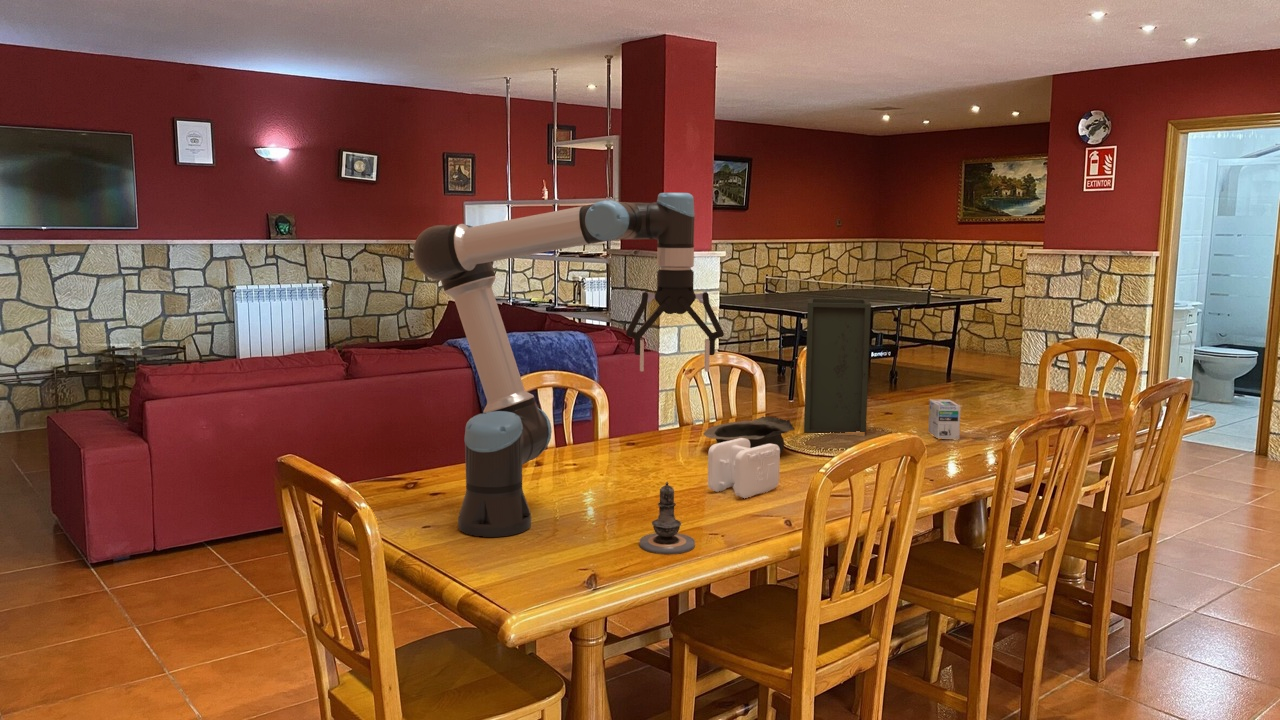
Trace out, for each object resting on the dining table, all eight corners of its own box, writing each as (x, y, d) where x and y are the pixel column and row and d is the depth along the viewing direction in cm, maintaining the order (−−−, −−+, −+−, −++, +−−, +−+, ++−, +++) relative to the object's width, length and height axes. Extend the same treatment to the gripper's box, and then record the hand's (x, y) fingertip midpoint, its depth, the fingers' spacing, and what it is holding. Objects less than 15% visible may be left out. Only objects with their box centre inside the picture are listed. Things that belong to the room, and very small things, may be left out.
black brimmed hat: (811, 454, 269) (811, 421, 267) (742, 473, 255) (741, 439, 254) (753, 436, 289) (752, 406, 287) (686, 453, 276) (684, 422, 274)
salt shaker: (647, 543, 191) (648, 483, 189) (656, 534, 196) (657, 476, 195) (676, 546, 189) (677, 486, 187) (684, 537, 195) (685, 479, 193)
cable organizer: (746, 481, 241) (747, 435, 239) (781, 490, 233) (782, 442, 232) (706, 493, 230) (707, 445, 229) (741, 502, 223) (742, 452, 221)
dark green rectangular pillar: (804, 421, 314) (808, 298, 309) (862, 424, 311) (867, 299, 306) (803, 433, 296) (807, 302, 291) (865, 436, 293) (870, 304, 288)
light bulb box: (959, 441, 288) (961, 405, 286) (937, 440, 288) (938, 405, 287) (949, 433, 299) (950, 398, 297) (927, 433, 299) (928, 398, 297)
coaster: (629, 541, 195) (629, 537, 194) (675, 533, 200) (675, 528, 200) (658, 557, 185) (658, 553, 185) (705, 548, 191) (705, 544, 191)
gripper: (733, 268, 204) (731, 368, 207) (615, 267, 204) (614, 367, 206) (738, 269, 196) (735, 373, 199) (614, 269, 196) (614, 373, 199)
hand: (674, 370), depth 203 cm, fingers open, 13 cm apart
